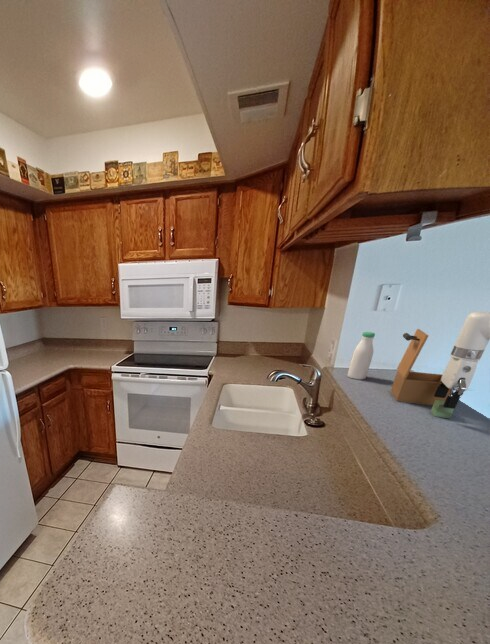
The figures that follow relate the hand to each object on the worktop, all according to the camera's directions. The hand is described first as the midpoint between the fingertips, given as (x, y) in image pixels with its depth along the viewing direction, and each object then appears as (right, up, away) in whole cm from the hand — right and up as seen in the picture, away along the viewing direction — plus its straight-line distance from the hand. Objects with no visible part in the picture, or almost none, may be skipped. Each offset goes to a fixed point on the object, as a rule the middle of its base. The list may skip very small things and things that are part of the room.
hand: (443, 402), depth 113 cm
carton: (+2, +3, +15) cm, 16 cm away
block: (0, -4, +2) cm, 5 cm away
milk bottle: (-8, +15, +38) cm, 42 cm away
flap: (-4, +19, +9) cm, 22 cm away
